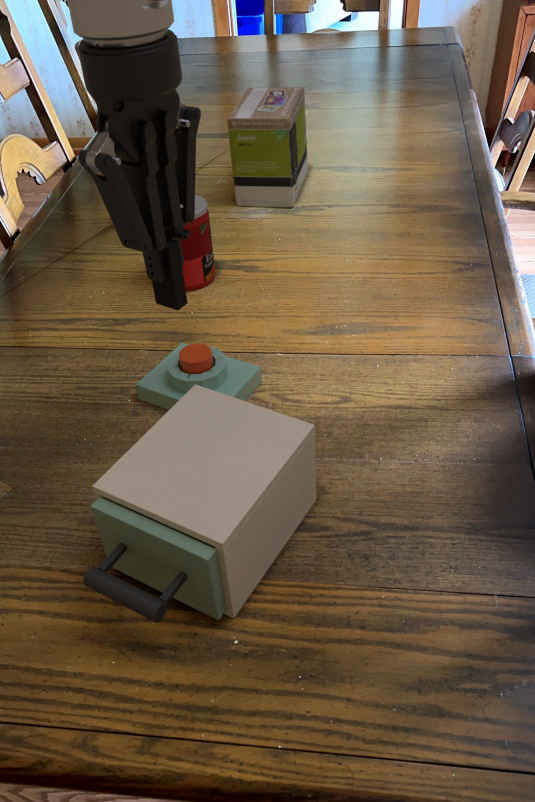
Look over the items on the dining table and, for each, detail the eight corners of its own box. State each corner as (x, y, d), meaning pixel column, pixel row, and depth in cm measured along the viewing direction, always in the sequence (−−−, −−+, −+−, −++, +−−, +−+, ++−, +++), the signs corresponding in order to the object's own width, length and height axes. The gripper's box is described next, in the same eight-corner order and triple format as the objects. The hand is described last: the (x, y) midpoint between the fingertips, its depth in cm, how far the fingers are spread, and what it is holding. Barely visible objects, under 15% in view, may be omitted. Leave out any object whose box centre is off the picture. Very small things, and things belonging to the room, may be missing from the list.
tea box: (254, 171, 129) (247, 85, 120) (309, 172, 127) (307, 85, 118) (234, 207, 118) (225, 115, 108) (294, 209, 116) (290, 116, 107)
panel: (138, 399, 81) (132, 371, 78) (184, 356, 87) (180, 329, 84) (219, 429, 76) (215, 400, 74) (262, 381, 82) (260, 353, 79)
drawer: (186, 665, 54) (172, 606, 49) (74, 604, 59) (51, 544, 54) (299, 507, 66) (296, 446, 61) (197, 467, 71) (187, 407, 66)
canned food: (218, 288, 98) (210, 213, 91) (161, 296, 98) (147, 221, 91) (213, 261, 104) (204, 189, 97) (158, 268, 104) (145, 197, 96)
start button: (174, 370, 79) (172, 357, 78) (193, 352, 81) (191, 340, 80) (201, 379, 77) (199, 366, 76) (219, 361, 80) (218, 348, 78)
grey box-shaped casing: (234, 619, 58) (222, 544, 52) (114, 560, 64) (91, 485, 57) (316, 500, 68) (315, 424, 62) (206, 457, 73) (195, 383, 67)
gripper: (104, 62, 48) (159, 349, 63) (217, 17, 56) (242, 281, 71) (26, 51, 51) (96, 327, 66) (143, 10, 59) (182, 264, 74)
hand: (171, 303), depth 68 cm, fingers closed
